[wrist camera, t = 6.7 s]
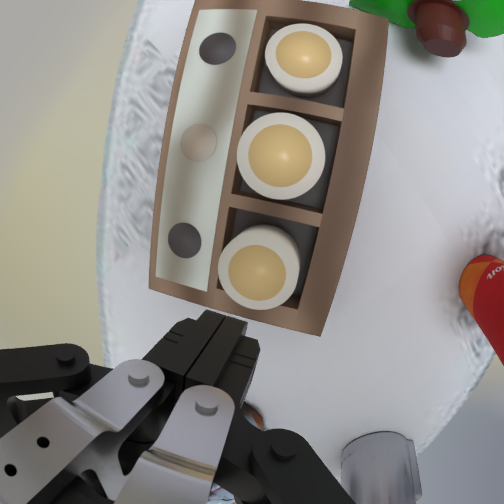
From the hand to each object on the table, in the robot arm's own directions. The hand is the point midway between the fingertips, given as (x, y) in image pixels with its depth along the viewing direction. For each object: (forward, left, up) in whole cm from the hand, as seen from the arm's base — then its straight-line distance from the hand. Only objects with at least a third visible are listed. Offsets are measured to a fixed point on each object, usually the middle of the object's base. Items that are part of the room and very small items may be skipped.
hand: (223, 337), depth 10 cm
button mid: (+1, -6, -13) cm, 15 cm away
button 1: (+1, -14, -16) cm, 21 cm away
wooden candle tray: (+3, -6, -16) cm, 18 cm away
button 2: (+1, +2, -13) cm, 13 cm away
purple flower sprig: (-7, -35, -17) cm, 40 cm away
